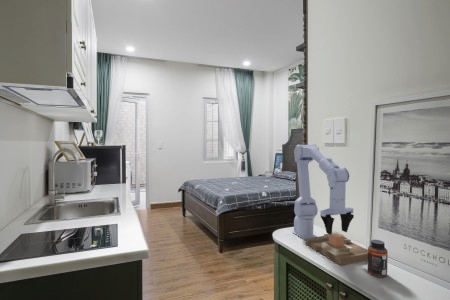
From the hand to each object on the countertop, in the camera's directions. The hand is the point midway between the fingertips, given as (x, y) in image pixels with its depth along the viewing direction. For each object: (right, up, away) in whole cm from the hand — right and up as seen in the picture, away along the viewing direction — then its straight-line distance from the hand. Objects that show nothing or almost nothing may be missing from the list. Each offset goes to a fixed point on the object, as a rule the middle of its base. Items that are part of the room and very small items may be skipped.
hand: (336, 232), depth 104 cm
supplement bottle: (+8, -10, -13) cm, 19 cm away
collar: (0, -7, 0) cm, 7 cm away
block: (+4, -7, +10) cm, 13 cm away
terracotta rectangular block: (0, -7, 0) cm, 7 cm away
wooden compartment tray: (+3, -9, +5) cm, 11 cm away
